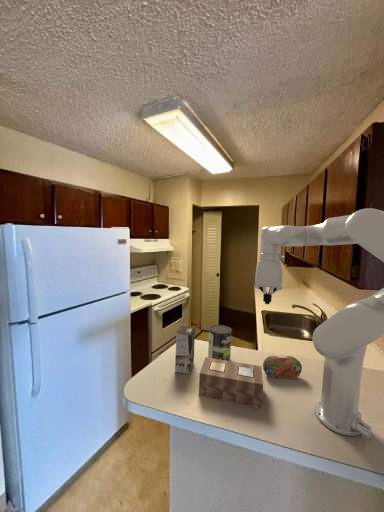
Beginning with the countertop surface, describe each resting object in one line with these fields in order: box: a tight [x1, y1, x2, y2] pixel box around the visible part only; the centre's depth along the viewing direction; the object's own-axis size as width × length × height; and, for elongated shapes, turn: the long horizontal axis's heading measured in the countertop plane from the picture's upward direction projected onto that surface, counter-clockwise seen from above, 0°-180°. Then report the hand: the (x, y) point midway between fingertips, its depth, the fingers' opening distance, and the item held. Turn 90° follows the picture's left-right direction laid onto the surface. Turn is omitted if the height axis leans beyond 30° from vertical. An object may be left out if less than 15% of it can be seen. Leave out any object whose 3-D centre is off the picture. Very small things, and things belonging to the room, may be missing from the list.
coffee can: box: [207, 324, 233, 361], centre depth 103 cm, size 10×10×14 cm
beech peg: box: [210, 362, 225, 373], centre depth 83 cm, size 5×5×8 cm
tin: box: [262, 355, 303, 380], centre depth 91 cm, size 15×3×8 cm, turn 92°
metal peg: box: [238, 367, 253, 378], centre depth 80 cm, size 5×5×8 cm
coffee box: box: [174, 325, 196, 375], centre depth 95 cm, size 9×6×16 cm
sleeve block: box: [198, 356, 264, 409], centre depth 81 cm, size 21×11×8 cm, turn 76°
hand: (267, 303), depth 91 cm, fingers closed
